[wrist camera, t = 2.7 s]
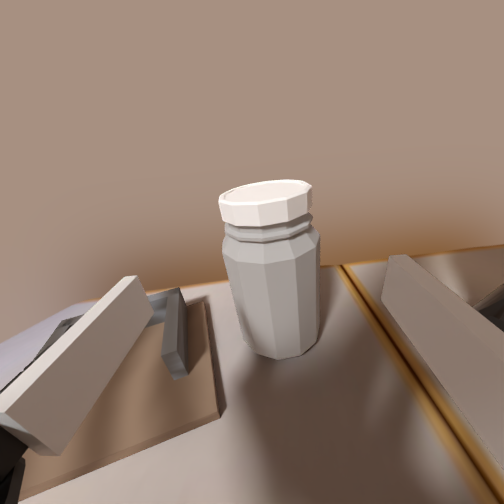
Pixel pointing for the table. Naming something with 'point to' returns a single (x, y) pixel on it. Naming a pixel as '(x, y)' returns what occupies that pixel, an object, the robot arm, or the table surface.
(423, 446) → the table surface
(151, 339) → the mounting board
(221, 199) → the jar
